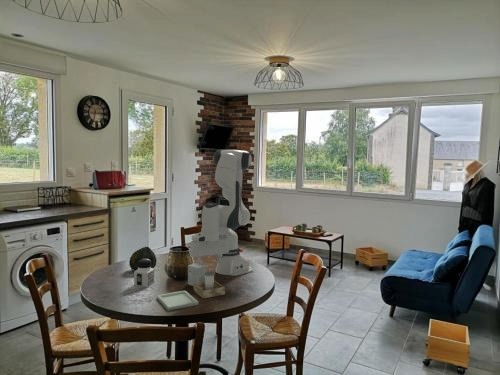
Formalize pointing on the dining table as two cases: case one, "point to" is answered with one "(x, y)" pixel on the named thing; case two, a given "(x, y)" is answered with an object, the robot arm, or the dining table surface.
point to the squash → (142, 257)
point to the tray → (177, 300)
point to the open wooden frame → (209, 293)
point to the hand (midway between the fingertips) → (209, 263)
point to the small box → (196, 274)
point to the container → (144, 273)
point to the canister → (209, 280)
